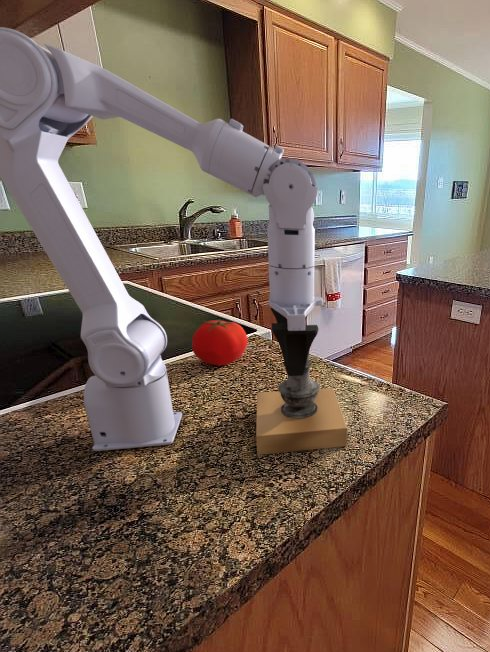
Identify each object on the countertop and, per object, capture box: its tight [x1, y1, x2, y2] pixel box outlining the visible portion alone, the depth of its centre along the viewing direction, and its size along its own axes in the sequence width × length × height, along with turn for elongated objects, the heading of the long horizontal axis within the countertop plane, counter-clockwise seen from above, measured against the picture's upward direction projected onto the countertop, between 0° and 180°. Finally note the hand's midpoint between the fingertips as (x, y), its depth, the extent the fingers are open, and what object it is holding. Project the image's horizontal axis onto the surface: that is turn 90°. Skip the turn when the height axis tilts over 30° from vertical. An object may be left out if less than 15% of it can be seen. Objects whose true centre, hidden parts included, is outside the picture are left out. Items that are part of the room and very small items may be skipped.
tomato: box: [191, 319, 249, 367], centre depth 77 cm, size 9×10×8 cm
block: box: [255, 387, 348, 456], centre depth 58 cm, size 12×12×3 cm
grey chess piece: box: [277, 353, 321, 419], centre depth 55 cm, size 6×6×12 cm
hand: (293, 363), depth 55 cm, fingers open, 7 cm apart
